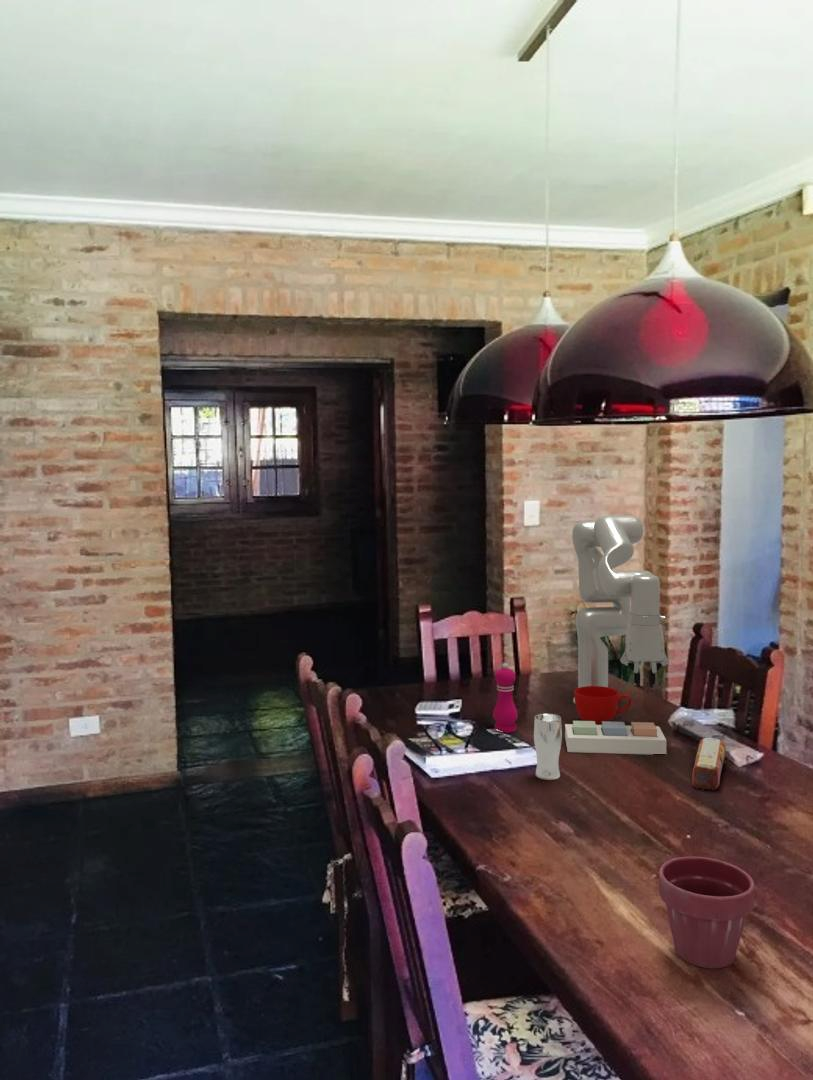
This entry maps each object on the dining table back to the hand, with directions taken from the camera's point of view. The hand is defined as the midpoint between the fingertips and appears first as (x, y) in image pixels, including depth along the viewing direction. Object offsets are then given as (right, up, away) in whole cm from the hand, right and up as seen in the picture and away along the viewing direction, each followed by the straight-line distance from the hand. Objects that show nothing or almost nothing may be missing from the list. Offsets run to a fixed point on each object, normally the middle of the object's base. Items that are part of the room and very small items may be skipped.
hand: (644, 685), depth 230 cm
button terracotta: (0, -14, +1) cm, 14 cm away
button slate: (-8, -14, +2) cm, 16 cm away
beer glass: (-30, -20, -19) cm, 40 cm away
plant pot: (-17, -26, -96) cm, 101 cm away
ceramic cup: (-6, -16, +22) cm, 28 cm away
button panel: (-8, -17, +3) cm, 19 cm away
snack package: (+11, -19, -20) cm, 30 cm away
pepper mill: (-36, -16, +18) cm, 43 cm away
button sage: (-16, -14, +3) cm, 21 cm away
